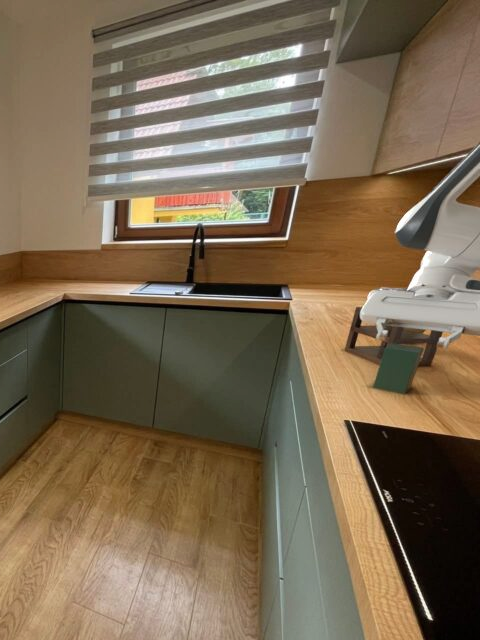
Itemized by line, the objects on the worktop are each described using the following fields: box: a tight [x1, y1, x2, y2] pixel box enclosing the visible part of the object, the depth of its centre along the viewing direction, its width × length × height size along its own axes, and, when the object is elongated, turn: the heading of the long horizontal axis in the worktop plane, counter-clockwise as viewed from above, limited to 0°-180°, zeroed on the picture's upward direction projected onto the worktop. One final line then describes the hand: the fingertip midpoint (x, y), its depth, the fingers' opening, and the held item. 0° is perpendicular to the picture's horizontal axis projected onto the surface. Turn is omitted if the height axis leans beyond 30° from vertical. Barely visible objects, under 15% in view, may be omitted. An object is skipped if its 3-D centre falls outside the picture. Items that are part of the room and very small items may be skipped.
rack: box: [344, 306, 444, 367], centre depth 107 cm, size 10×14×12 cm
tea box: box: [372, 343, 425, 395], centre depth 90 cm, size 5×5×9 cm
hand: (409, 342), depth 91 cm, fingers open, 8 cm apart
